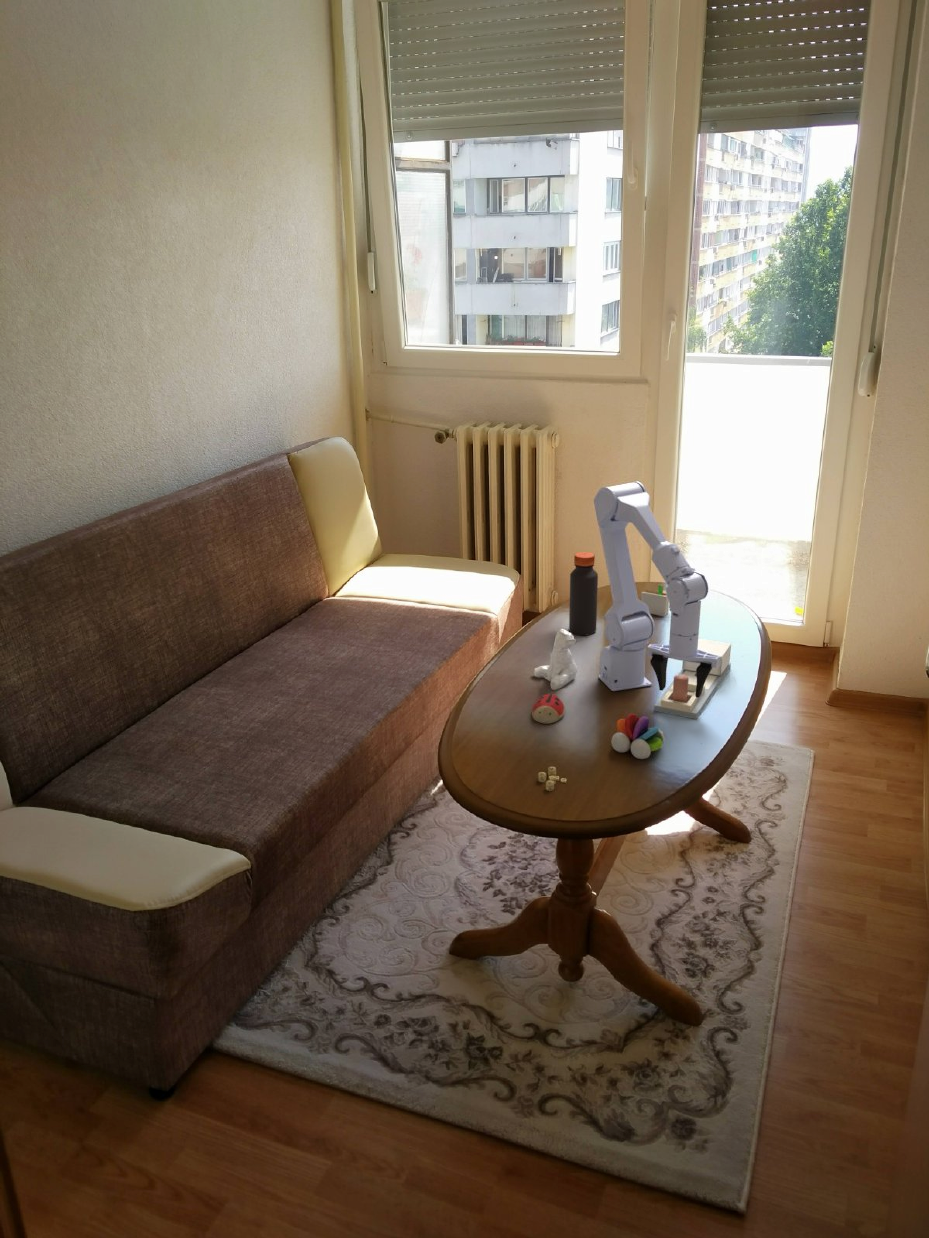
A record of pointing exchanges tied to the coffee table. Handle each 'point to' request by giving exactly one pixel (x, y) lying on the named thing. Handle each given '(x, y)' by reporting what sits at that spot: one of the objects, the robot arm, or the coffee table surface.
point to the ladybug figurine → (548, 709)
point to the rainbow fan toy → (637, 736)
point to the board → (690, 695)
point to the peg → (680, 688)
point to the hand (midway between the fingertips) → (680, 691)
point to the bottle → (583, 595)
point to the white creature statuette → (559, 662)
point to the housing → (715, 649)
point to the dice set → (550, 778)
